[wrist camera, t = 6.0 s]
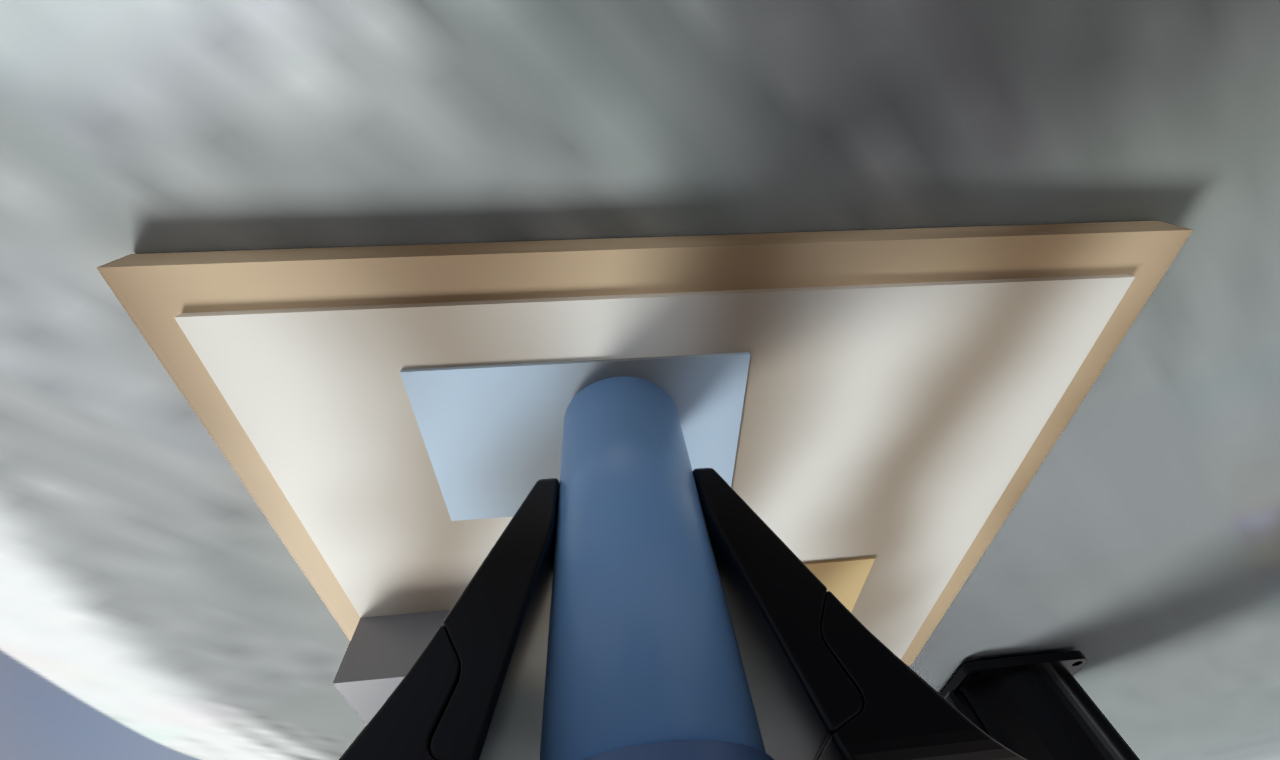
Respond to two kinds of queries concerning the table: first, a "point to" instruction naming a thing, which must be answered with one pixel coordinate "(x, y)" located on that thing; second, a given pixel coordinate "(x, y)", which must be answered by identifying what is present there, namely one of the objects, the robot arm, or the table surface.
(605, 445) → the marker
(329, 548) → the beige flat board
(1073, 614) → the table surface
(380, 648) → the button housing
